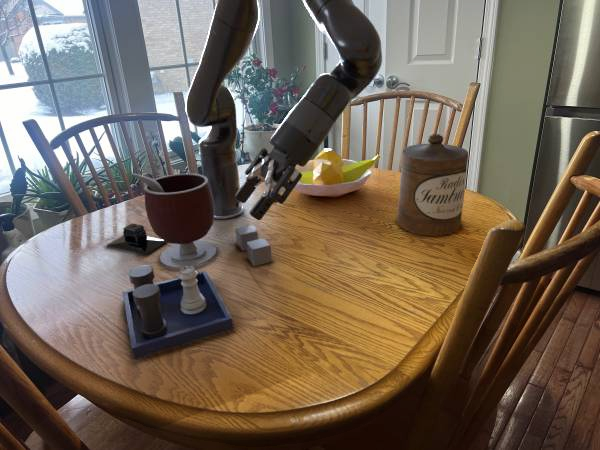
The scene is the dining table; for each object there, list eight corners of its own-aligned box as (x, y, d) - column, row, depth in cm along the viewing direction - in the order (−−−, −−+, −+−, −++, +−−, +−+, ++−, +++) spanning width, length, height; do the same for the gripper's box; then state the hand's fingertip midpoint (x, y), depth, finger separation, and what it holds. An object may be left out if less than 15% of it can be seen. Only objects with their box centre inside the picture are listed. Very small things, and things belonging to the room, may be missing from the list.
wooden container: (423, 241, 98) (431, 145, 89) (385, 218, 111) (389, 132, 102) (474, 228, 104) (486, 136, 95) (432, 207, 116) (440, 124, 107)
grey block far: (236, 244, 102) (235, 228, 100) (253, 240, 103) (251, 224, 101) (242, 251, 98) (240, 235, 97) (259, 246, 100) (257, 231, 98)
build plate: (167, 242, 104) (164, 224, 102) (146, 256, 98) (142, 237, 96) (128, 234, 109) (124, 217, 107) (105, 247, 103) (101, 229, 101)
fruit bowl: (266, 196, 130) (263, 159, 125) (315, 171, 150) (314, 138, 145) (348, 214, 115) (348, 172, 110) (391, 183, 135) (393, 147, 130)
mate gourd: (220, 238, 104) (209, 157, 96) (220, 267, 92) (208, 176, 84) (153, 246, 102) (136, 163, 94) (144, 276, 90) (124, 184, 82)
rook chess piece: (183, 302, 79) (176, 264, 76) (208, 300, 80) (202, 262, 76) (179, 317, 75) (171, 277, 72) (205, 315, 76) (198, 275, 72)
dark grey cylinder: (141, 328, 73) (131, 287, 70) (165, 321, 74) (157, 281, 71) (144, 342, 70) (133, 300, 66) (169, 334, 71) (160, 293, 68)
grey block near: (248, 258, 95) (246, 242, 93) (265, 254, 96) (263, 237, 95) (254, 266, 92) (252, 249, 90) (271, 261, 93) (270, 245, 91)
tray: (125, 303, 81) (122, 291, 80) (207, 281, 87) (206, 270, 86) (135, 362, 66) (131, 348, 65) (233, 331, 72) (232, 318, 71)
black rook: (136, 307, 79) (127, 268, 75) (159, 301, 80) (151, 263, 77) (139, 319, 75) (129, 279, 72) (162, 312, 77) (154, 273, 74)
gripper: (271, 112, 79) (218, 185, 80) (304, 127, 67) (242, 212, 68) (300, 137, 83) (249, 205, 84) (336, 154, 71) (276, 234, 72)
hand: (246, 208), depth 76 cm, fingers open, 8 cm apart
